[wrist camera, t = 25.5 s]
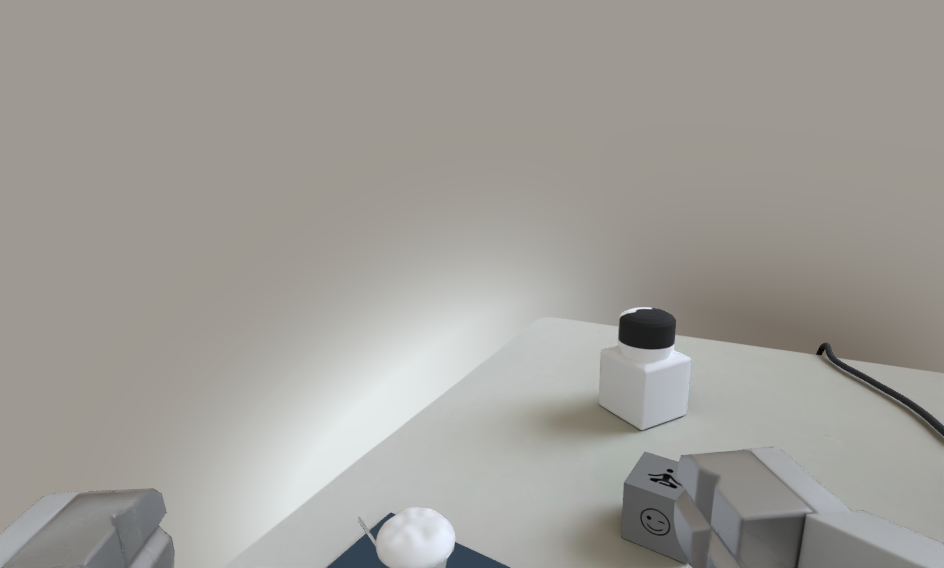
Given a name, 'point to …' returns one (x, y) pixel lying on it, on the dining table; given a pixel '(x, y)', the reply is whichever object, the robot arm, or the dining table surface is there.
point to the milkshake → (415, 540)
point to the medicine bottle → (645, 370)
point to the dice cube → (652, 505)
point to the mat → (363, 563)
